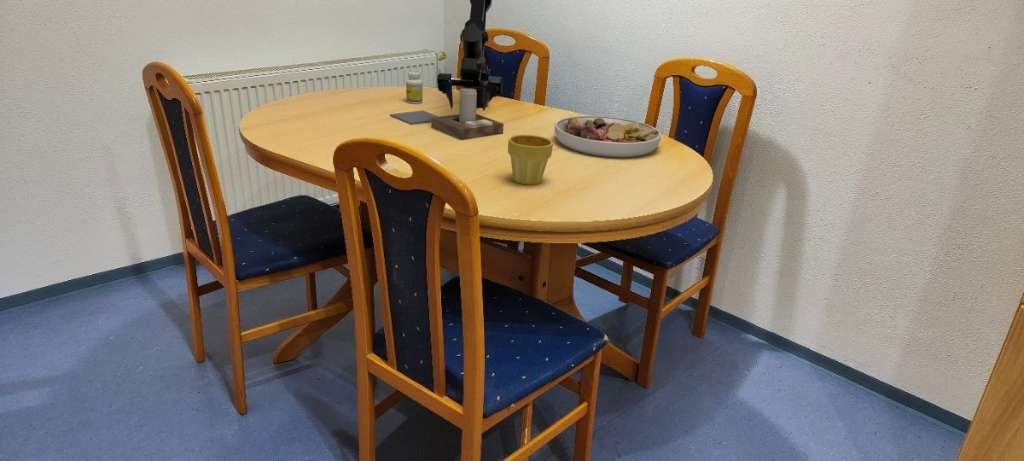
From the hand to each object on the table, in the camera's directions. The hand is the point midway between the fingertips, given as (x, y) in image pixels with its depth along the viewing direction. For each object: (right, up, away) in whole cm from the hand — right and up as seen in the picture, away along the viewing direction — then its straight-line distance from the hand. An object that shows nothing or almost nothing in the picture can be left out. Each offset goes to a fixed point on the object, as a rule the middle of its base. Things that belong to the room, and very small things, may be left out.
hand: (467, 108), depth 193 cm
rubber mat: (-16, 0, +14) cm, 22 cm away
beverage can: (0, -6, +4) cm, 7 cm away
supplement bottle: (-20, +8, +34) cm, 40 cm away
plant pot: (+16, -23, -34) cm, 45 cm away
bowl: (+40, -11, 0) cm, 41 cm away
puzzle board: (0, -6, +4) cm, 7 cm away
